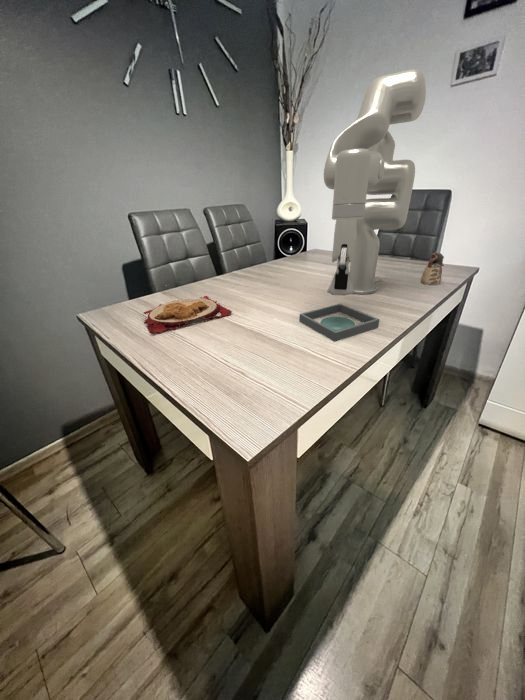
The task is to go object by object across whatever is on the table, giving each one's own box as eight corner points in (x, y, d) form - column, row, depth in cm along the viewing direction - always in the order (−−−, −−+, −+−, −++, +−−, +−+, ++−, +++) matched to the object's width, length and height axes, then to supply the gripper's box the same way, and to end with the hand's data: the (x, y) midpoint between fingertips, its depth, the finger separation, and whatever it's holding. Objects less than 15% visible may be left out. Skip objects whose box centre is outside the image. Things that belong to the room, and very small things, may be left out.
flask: (324, 289, 79) (327, 253, 74) (350, 288, 79) (354, 252, 74) (329, 297, 73) (332, 258, 68) (357, 296, 72) (362, 257, 68)
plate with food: (233, 317, 91) (232, 307, 90) (152, 336, 80) (149, 325, 78) (207, 299, 110) (205, 290, 109) (137, 313, 98) (135, 303, 97)
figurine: (444, 284, 110) (453, 253, 104) (429, 286, 108) (437, 254, 103) (431, 279, 116) (438, 250, 110) (416, 281, 115) (423, 251, 109)
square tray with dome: (339, 310, 90) (340, 303, 89) (378, 327, 78) (379, 319, 76) (299, 321, 84) (299, 313, 82) (334, 341, 71) (335, 333, 70)
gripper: (334, 211, 74) (329, 278, 83) (329, 214, 60) (323, 295, 69) (363, 210, 72) (355, 278, 81) (365, 213, 58) (355, 296, 67)
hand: (340, 285), depth 75 cm, fingers closed on flask, 4 cm apart
